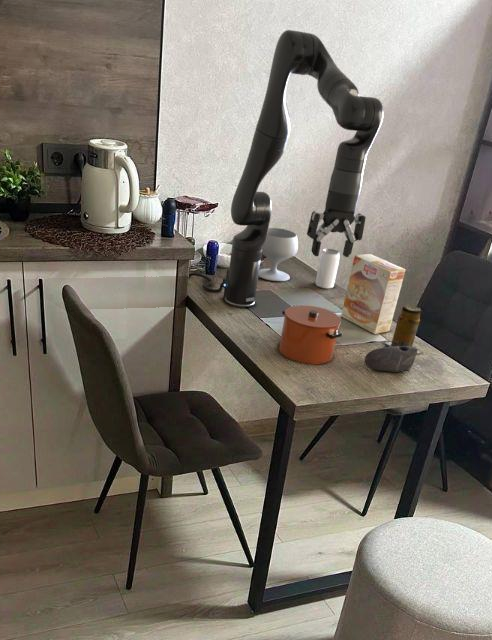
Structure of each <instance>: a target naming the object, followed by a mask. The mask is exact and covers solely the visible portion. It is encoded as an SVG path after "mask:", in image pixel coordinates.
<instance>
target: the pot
mask: <svg viewBox="0 0 492 640" xmlns="http://www.w3.org/2000/svg"><path fill="white" fill-rule="evenodd" d="M281 315H283V316H284V318H283V324H282V330H281V336H280V340H279V346H278V350H279V352H280V353H281V354H282V355H283V356H284V357H286V358H288V359H290V360H292V361H296V362H298V363H303V364H310V365H311V364H312V365H317V364H318V365H319V364H320V365H321V364H325V363H328V362H330V361H331V360H332V359H333V356H334V353H335V347H336V343H337V339H338V338H341V337H342V336H343V332H341V331H339V329H340V326H341V324H342V319H341V318H342V317H341V316H339V315H338V314H336V313H335V312H334V311H331V310H329V309H326V308H322V307H318V306H313V305H301V304H300V305H292V306H289V307H287V308H286V309H284V310H282V312H281Z"/></svg>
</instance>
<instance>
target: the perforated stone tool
mask: <svg viewBox="0 0 492 640" xmlns="http://www.w3.org/2000/svg"><path fill="white" fill-rule="evenodd" d="M417 350H418V348H417V346H412V347H408V346H391V347H390V346H384V347H377V348H375V349H373V350H370V351H369V352H368V353H366V355H365V357H364V364H365V366H366V367H367V368H368V369H370V370H374V371H383V372H391V373H398V372H409V371H410V370H411V369H412V366H413V365H414V363H415V360H416V357H417V355H418V353H417Z"/></svg>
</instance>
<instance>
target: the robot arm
mask: <svg viewBox="0 0 492 640" xmlns="http://www.w3.org/2000/svg"><path fill="white" fill-rule="evenodd" d="M291 74H292V75H300V76H310V77H312V78H314V79H315V80H317V81H316V82H317V83H316V88H317V92H318V94H319V96H320V97H321V99H322V100H323V101H324V102H325V103H326V104H327V105H328V106H329V107H330V108H331V110H332V113H333V115H334V118H335V121H336V123H337V125H338V126H339V127H340V128H342V129H344V130H346V131H356V132H355V133H354V135H353V136H352V138H351V139H346V140H343V141H341V142H340V143H339V144H338V147H337V151H336V155H335V160H334V166H333V170H332V172H331V176H330V180H329V185H328V191H327V194H326V201H325V206H324V207H325V208H324V211H323V212H322V213H321V212H317V211H315V210H314V211H312V212H311V215H310V219H309V222H308V228H307V231H306V236H308V237H309V238H310V239H312V243H311V244H312V245H311V253H312V255H313V256H314V257H320V256H319V255H320V250H321V245H322V240H323V238H324V237H325V236H328V234H330V233H340V234H344V235H345V238H346V240H345V242H344V245H343V251H342V255H343V257H345V258H350V257H349V256H350V255H351V254H352V252H353V247H354V243H355V242H357V241H361V240H362V239H363V235H364V229H365V224H366V219H367V218H366V216H365V215H363V214H362V213H359V212H358V213H357V214H355V213H356V210H357V207H358V202H359V198H360V194H361V191H362V190H361V189H362V184H363V176H364V170H365V166H366V161H367V156H368V153H369V151H370V149H371V147H372V146H373V145H372V144H373V143H374V141H375V138H376V137H377V134H378V132H379V130H380V128H381V126H382V123H383V121H384V120H383V119H384V106H383V103H382V102H381V100H380V99H379V98H377V97H372V96H360V93H359V89H358V87H357V86H356V85H355V83H354V82H353V81H352V80H351V79H350V78H349V77H348V76H347V75H346V74H344V72H343V71H342V70H341V69H340V68H339V67H338V66H337V64H336V63H335V61H334V59H333V57H332V56H331V55H330V53H329V51H328V49H327V47H326V46H325V45H324V43H323V41H322V40H321V39H320V37H318V36H317V35H316V34H314V33H310V32H305V31H300V30H299V31H298V30H292V29H287V30H285V31H283V32H282V33H281V34H280V36H279V38H278V40H277V43H276V45H275V49H274V53H273V58H272V62H271V68H270V71H269V77H268V82H267V87H266V91H265V96H264V98H263V99H264V100H263V103H262V107H261V110H260V114H259V118H258V120H257V124H256V127H255V130H254V133H253V137H252V142H251V145H250V149H249V151H248V155H247V159H246V161H245V165H244V168H243V171H242V174H241V177H240V178H239V181H238V184H237V187H236V190H235V192H234V195H233V198H232V201H231V204H230V205H231V207H230V216H231V217H230V218H231V220H232V221H233V223H234V224H235V225H237V226H241V227H242V226H245V228H244V229H243V230H241V231H240V232H238V233H236V234H235V235H234V236H233V237H232V243H231V245H232V246H231V252H230V259H229V260H230V261H229V268H227V269H226V271H225V272H226V274H225V277H224V278H222V282H220V285H219V288H216V289H214V288H210V287H208V286H211V285H212V284H213V280H212V279H211V278H210V277H208V276H207V275H205V274H202V273H201V272H200V273H199V272H190V273H188V274H189V277H188V278H190V277H199V278H202V279H203V280H206V281H207V282H205V283H203V284H202V285H201V287H202V289H204V290H205V291H207V292H211V293H220V292H222V290H223V296H222V299H223V300H224V302H225V303H226V304H228V305H230V306H232V307H237V308H250V307H254V306H255V302H256V300H255V299H256V295H257V288H258V281H259V276H258V275H259V270H260V266H261V261H262V255H263V254H262V248H263V244H264V243H265V241H266V237H267V232H268V228H270V222H271V218H272V212H273V211H272V209H273V208H272V206H273V205H272V200H271V197H270V195H269V194H268V193H267V192H265V191H258V189H259V187H260V184H261V183H262V181H263V180H264V178H265V177H266V176H267V174H269V173H270V172H271V170H273V168H274V167H275V166H276V165H277V163H278V162H279V161H280V159H281V158H282V157H283V155H284V153H285V151H286V147H287V145H288V141H289V138H290V134H291V130H292V129H291V127H292V125H291V118H290V113H289V109H288V105H287V98H286V97H287V96H286V93H287V86H288V82H289V78H290V76H291ZM321 221H323V222H322V223H321V224H320V222H321ZM353 223H355V225H354V231H353V230H352V227H351V225H352V224H353ZM319 224H320V225H319Z"/></svg>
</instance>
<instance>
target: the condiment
mask: <svg viewBox="0 0 492 640" xmlns="http://www.w3.org/2000/svg"><path fill="white" fill-rule="evenodd" d="M421 313H422V310H421V308H420V307H418V306H416V305H412V304H405V305H403V306H402V309H401V312H400V314H399V315H398V318H397V322H396V325H395V329H394V332H393V337H392V338H391V339H392V340H391V341H385V342H384V344H386V345H387V346H388V347H391V346H408V347H414V346H413V345H414V342H415V339H416V335H417V332H418V328H419V324H420V322H421V320H420V319H421V318H420V317H421ZM421 353H422V351H421V350H418V349H417V354H421Z"/></svg>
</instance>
